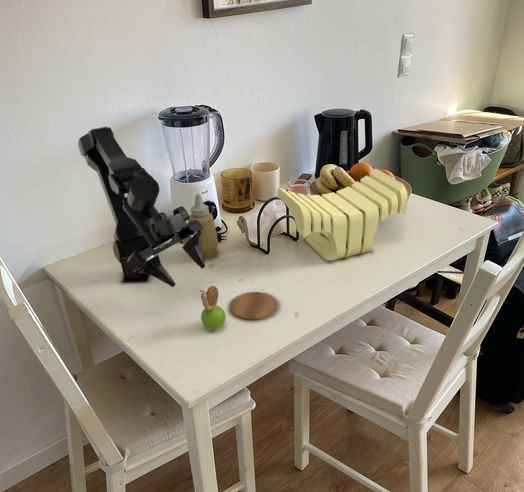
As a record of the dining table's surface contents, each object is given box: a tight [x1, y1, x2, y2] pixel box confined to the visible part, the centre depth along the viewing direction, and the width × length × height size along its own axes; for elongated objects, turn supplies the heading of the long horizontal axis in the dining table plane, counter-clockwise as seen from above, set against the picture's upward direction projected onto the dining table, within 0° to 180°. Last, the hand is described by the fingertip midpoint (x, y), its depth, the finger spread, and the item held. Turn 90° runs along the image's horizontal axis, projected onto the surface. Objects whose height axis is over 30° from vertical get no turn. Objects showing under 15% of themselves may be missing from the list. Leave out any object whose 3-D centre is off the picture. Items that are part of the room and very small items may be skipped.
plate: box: [230, 291, 278, 321], centre depth 122 cm, size 11×11×1 cm
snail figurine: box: [199, 285, 227, 330], centre depth 113 cm, size 5×6×12 cm
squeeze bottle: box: [187, 193, 219, 261], centre depth 139 cm, size 8×8×18 cm
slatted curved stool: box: [277, 168, 409, 262], centre depth 140 cm, size 30×16×18 cm, turn 112°
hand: (189, 276), depth 112 cm, fingers open, 9 cm apart
